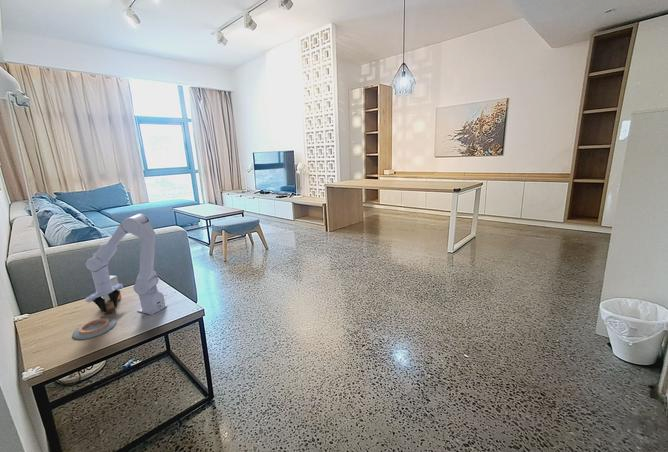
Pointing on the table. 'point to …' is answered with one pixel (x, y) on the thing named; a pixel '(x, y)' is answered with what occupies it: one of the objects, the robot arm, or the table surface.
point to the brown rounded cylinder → (109, 307)
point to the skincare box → (114, 282)
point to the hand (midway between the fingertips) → (109, 309)
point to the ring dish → (94, 328)
